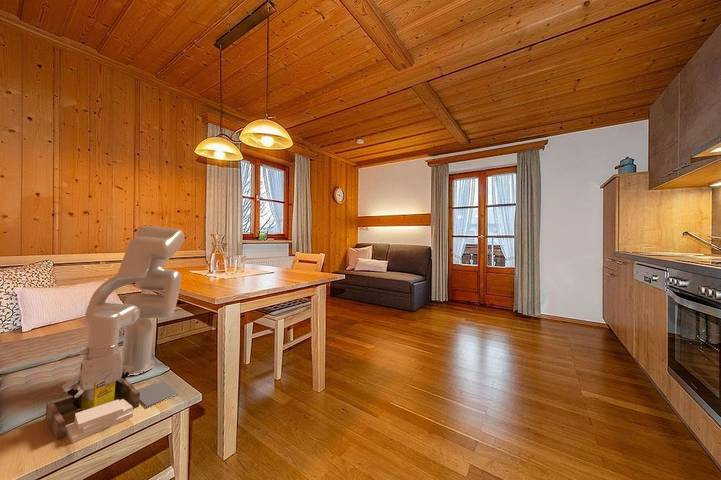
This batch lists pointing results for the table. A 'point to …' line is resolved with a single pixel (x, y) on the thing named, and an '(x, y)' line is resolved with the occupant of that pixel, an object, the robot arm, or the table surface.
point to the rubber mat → (155, 393)
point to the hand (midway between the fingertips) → (98, 399)
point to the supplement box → (98, 395)
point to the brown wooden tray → (66, 406)
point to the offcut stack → (98, 419)
